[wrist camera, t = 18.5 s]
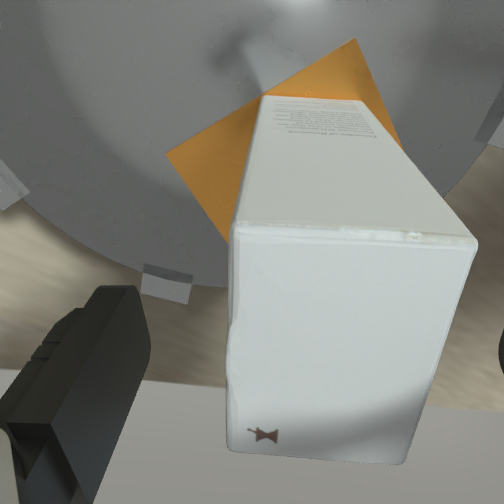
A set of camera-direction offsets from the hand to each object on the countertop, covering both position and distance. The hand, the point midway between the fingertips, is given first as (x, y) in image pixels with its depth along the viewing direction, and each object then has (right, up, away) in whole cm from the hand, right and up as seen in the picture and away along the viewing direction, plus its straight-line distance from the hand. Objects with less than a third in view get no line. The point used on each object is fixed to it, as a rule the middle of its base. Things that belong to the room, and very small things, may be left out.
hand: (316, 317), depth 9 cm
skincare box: (+1, +5, +9) cm, 11 cm away
